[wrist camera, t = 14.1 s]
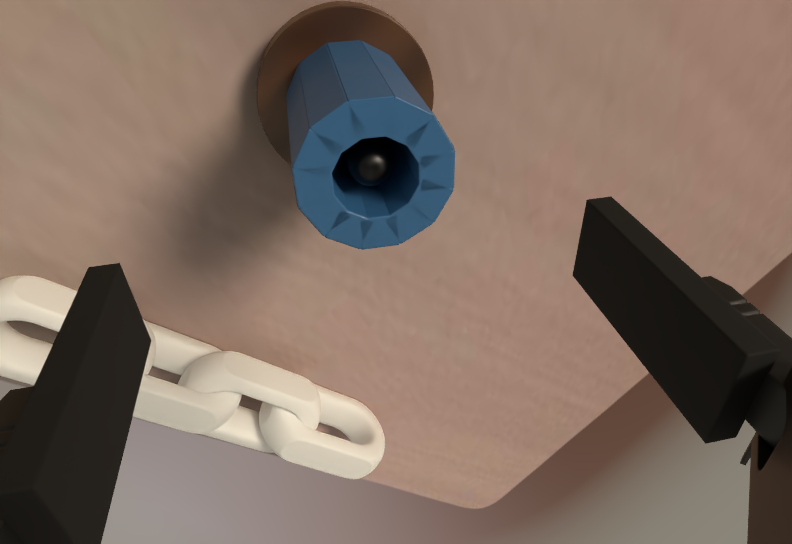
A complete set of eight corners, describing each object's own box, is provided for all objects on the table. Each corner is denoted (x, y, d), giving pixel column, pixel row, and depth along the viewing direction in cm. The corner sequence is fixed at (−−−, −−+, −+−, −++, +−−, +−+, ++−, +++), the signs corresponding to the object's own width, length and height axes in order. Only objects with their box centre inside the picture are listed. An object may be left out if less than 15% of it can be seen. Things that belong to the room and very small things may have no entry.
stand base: (219, 73, 30) (216, 80, 29) (368, -41, 28) (372, -38, 27) (326, 202, 36) (328, 213, 34) (456, 114, 34) (463, 122, 33)
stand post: (322, 98, 30) (340, 168, 23) (352, 77, 30) (380, 140, 22) (343, 127, 31) (367, 202, 24) (372, 107, 31) (405, 176, 23)
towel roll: (261, 90, 29) (258, 164, 21) (364, 13, 28) (402, 61, 20) (335, 181, 33) (355, 273, 25) (428, 118, 32) (481, 192, 24)
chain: (392, 395, 47) (406, 454, 42) (351, 438, 49) (360, 499, 44) (7, 243, 33) (-40, 305, 28) (-25, 313, 35) (-73, 381, 30)
